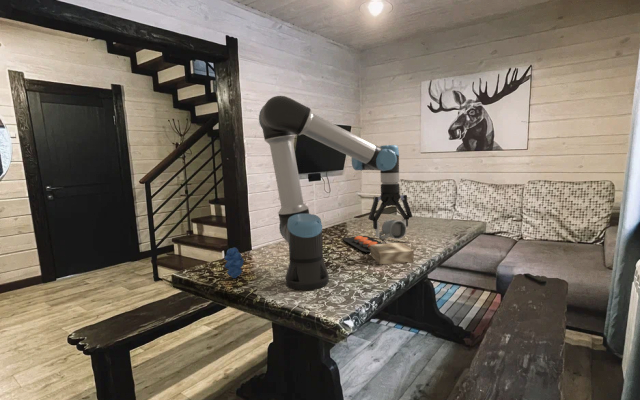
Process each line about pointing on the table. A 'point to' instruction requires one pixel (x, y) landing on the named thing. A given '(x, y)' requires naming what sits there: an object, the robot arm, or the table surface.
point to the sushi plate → (364, 242)
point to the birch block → (391, 253)
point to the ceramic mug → (392, 229)
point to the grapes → (234, 262)
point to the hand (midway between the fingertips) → (390, 235)
